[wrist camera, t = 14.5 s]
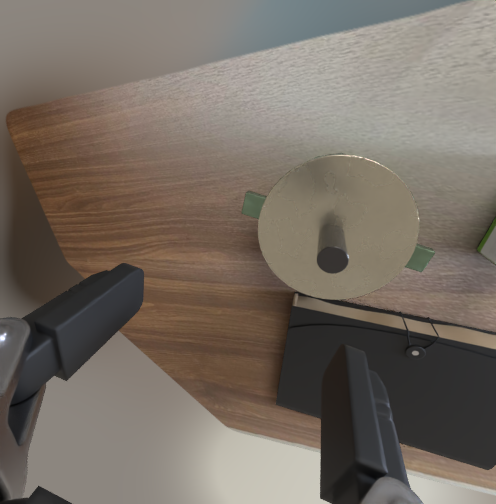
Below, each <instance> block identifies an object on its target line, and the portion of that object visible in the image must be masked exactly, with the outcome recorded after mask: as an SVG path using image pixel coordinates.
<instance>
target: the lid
mask: <svg viewBox="0 0 496 504" xmlns="http://www.w3.org/2000/svg"><path fill="white" fill-rule="evenodd" d="M419 226H420V221H419V213H418V208H417V205H416V202H415V199H414V197H413V195H412V193H411V191H410V190H409V188H408V187H407V186H406V184H405V183H404V182H403V181H402V180H401V179H400V178H399V177H398V176H397V175H396V174H395V173H394V172H392V171H391V170H390V169H388V168H387V167H385V166H383V165H381V164H379V163H378V162H376V161H373V160H370V159H367V158H364V157H359V156H354V155H329V156H324V157H319V158H316V159H313V160H310V161H307V162H305V163H303V164H301V165H299V166H297V167H295V168H294V169H292V170H291V171H289V172H288V173H287V174H286V175H285V176H283V177H282V178H281V179H280V180H279V181H278V182H277V183H276V184H275V186H274V187H273V188H272V189H271V191H270V192H269V194H268V195H267V197H266V199H265V201H264V203H263V206H262V209H261V212H260V216H259V221H258V239H259V244H260V248H261V251H262V254H263V256H264V258H265V260H266V262H267V264H268V265H269V267H270V268H271V270H272V271H273V272H274V273H275V274H276V276H277V277H278V278H280V279H281V280H282V281H283V282H284V283H286V284H287V285H288V286H290V287H291V288H293V289H295V290H297V291H299V292H301V293H303V294H306V295H309V296H312V297H316V298H321V299H330V300H342V299H350V298H355V297H359V296H363V295H366V294H369V293H371V292H373V291H375V290H377V289H379V288H381V287H383V286H384V285H386V284H387V283H389V282H390V281H391V280H392V279H394V278H395V277H396V276H397V275H398V274H399V273H400V272H401V271H402V270H403V268H404V267H405V266H406V264H407V263H408V262H409V260H410V258H411V256H412V254H413V252H414V250H415V247H416V244H417V241H418V236H419Z"/></svg>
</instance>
